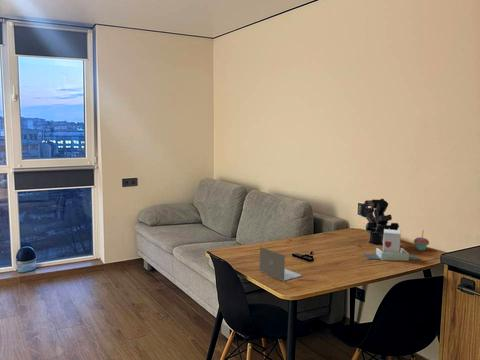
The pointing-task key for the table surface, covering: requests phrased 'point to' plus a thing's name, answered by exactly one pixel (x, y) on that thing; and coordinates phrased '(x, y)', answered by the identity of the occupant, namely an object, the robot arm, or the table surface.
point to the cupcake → (421, 243)
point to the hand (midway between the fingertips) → (384, 239)
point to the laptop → (275, 265)
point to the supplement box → (391, 241)
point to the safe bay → (392, 256)
